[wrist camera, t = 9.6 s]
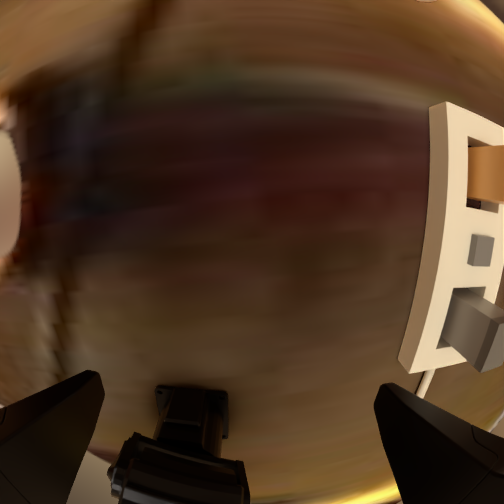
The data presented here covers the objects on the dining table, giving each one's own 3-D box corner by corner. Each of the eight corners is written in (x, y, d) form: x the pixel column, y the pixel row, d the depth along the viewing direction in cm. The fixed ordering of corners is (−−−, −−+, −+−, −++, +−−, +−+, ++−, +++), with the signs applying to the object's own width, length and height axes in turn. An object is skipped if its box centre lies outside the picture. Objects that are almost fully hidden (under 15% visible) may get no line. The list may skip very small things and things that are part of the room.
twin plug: (452, 324, 22) (501, 365, 14) (430, 327, 22) (480, 373, 14) (462, 286, 21) (519, 319, 13) (441, 286, 21) (499, 324, 13)
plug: (475, 200, 19) (540, 211, 11) (453, 194, 19) (522, 204, 11) (476, 156, 18) (541, 156, 11) (455, 148, 18) (523, 144, 10)
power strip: (430, 418, 25) (442, 434, 22) (368, 433, 25) (377, 453, 22) (494, 133, 18) (517, 131, 14) (428, 107, 17) (452, 99, 14)
